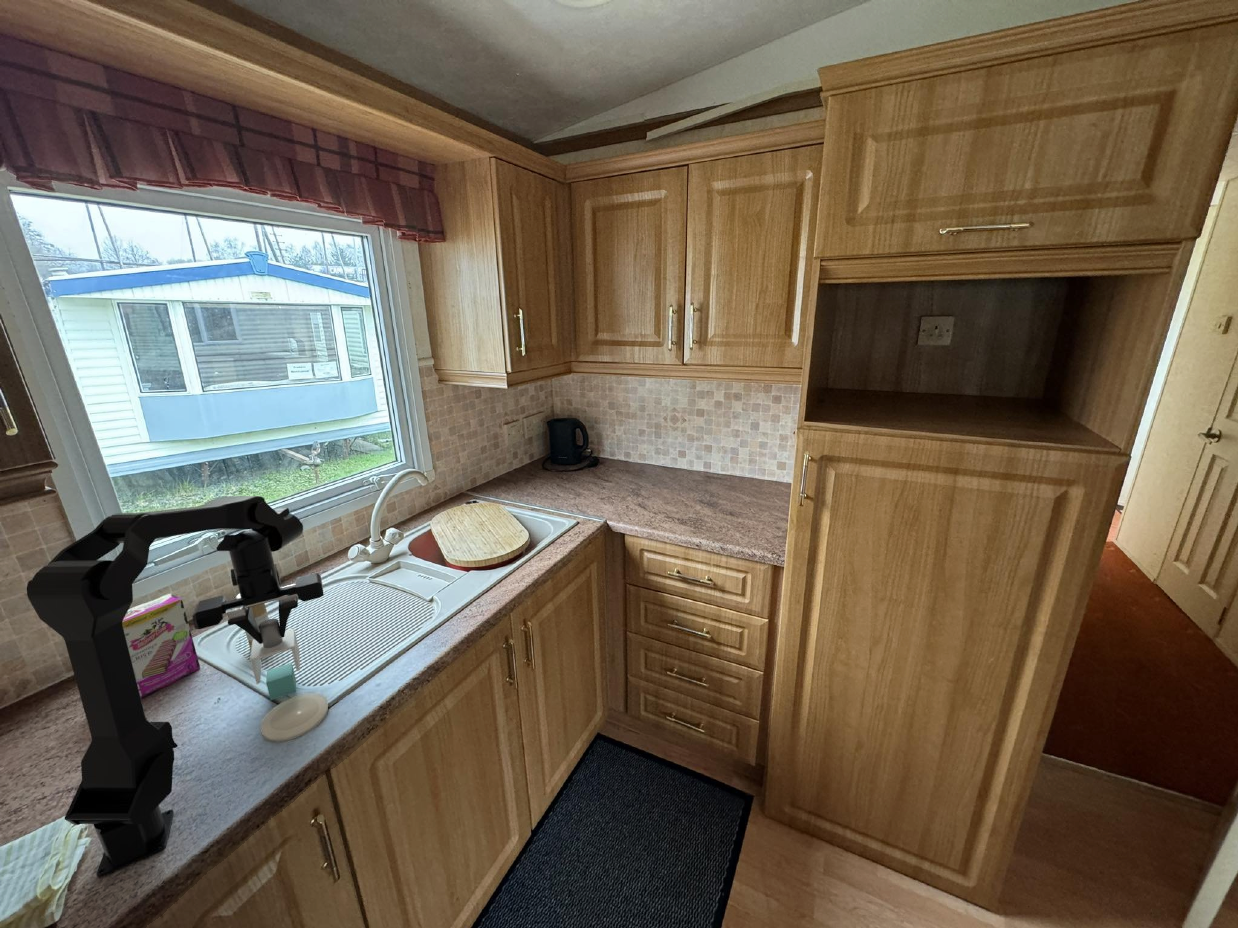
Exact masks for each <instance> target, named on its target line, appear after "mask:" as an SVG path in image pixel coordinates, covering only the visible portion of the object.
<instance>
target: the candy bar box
mask: <svg viewBox="0 0 1238 928" xmlns="http://www.w3.org/2000/svg"><path fill="white" fill-rule="evenodd" d="M122 624H123V629H124V633H125V637H126V641H127V645H128V649H129V653H130V657H131V661H132V665H133V669H134V673H135V677H136V681H137V685H138V689H139V693H140V697H141V699H143V698H145V697H147V696H149V695H151V694H153V693H155V692H157V691H158V690H160V689H161V690H162V689H163V688H165V687H167V686H169V685H171V684H173V683H175V682H176V681H179V680H180V679H182V678H185V677H186V676H188V675H190V674H192V673H194V672H196V671H198V670H200V669H201V665H200V661H199V658H198V655H197V650H196V647H195V643H194V640H193V639H194V638H193V635H192V632H191V628H190V625H189V621H188V616H187V614H186V608H185V605H184V603H183V598H181V597H179V596H176V595H175V594H172V593H167V594H164V595H163V596H162V595H161V596H159V597H157V598H154V599H152V600H149V601H147V602H144V603H141V604H139V605H136V606H134V607H130V608H129V610H128V611H127V613H126V615H125V617H124V619H123V621H122Z"/></svg>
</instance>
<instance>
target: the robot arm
mask: <svg viewBox="0 0 1238 928" xmlns="http://www.w3.org/2000/svg"><path fill="white" fill-rule="evenodd" d="M210 530H211V531H212V530H219V531H221V530H223V531H225V530H226V531H228V530H229V531H230V530H231V531H232V530H236V531H237V530H238V531H239V530H241V531H240V532H238V533H236V534H225V535H224V536H223V538H222V539H221V541H220V542H219V543H218V544H217V546H216V548H215V550H216V551H217V552H228V553H229V556H230V561H231V565H232V568H230V578H231V584H232V586H233V587H236V586H237V587H238V591H239V593H240V596H241V598H239V599H236V598H235V599H230V600H227V598H226V596H225V595H219V596H214V597H211V598H207V599H203V600H199V601H198V603H196V605H195V607H194V611H193V613H192V622H193V623H192V624H193V626H194V629H195V630H202V629H207V628H210V627H214V626H218V625H219V624H220V623H221V622H222V620H223V619H224V614H226V617H227V624H228V626H234V625H235V626H236V627H239V628H240V629H242V630H243V631H246V632H247V633H248V634H250V635H251V636H252V637H253V638H254V639H255V640H256V641H257V642H258V643H259V644H262V639H261V635H260V631H259V627H258V625H257V622H256V620H255V617H254V615H253V611H252V606H256V605H260V604H263V603H265V604H267V603H270V602H275V601H278V622H279V626H280V634H281V637H282V638H283V637H284V635H285V631H286V629H287V624H288V620H289V617H290V615H291V612H292V610H293V609H296V608H297V607H298V606H299V600H300V601H302V602H304V603H305V602H308V601H312V600H316V599H320V598H322V597H323V596H325V595H324V586H323V585H324V584H323V580H322V576H321V574H319V573H317V572H313V573H310V574H307V575H306V574H305V575H302V576H299V577H298V576H297V577H296V579H295V583H296V584H295V583H293V584H289V585H285V586H281V585H282V583H281V577H280V572H279V571H278V569H277V568H278V567H277V564H275V561H274V558H273V553H275V552H277V551H279V550H281V549H282V548H284V547H286V546H287V545H289V544H290V543H292V542H294V541H295V540H296V539H298V538H299V537H300V536H301V535H303V532H304V525H303V522H301V520H300V519H299V518H298V517H297V516H295V514H292V513H290V509H289V508H288V507H278V508H276V509H273V507H271V505H269V504H267V502H266V500H265V498H264V497H263V496H262V495H261V496H259V495H256V496H255V495H247V496H246V495H245V496H244V495H243V496H242V495H241V496H238V495H237V496H234V495H233V496H231V495H230V496H227V495H226V496H221V497H218V498H214V499H210V500H208V501H206V502H205V503H204V504H201V505H198V506H190V507H180V508H173V509H172V508H171V509H161V510H154V511H152V510H151V511H144V512H143V511H142V512H121V513H120V512H119V513H115V514H112V515H109V516H107V517H105V518H104V519H102V521H101V522H100V523H99V524H98V525H97V526H96V527H95V528H94V529H93V530H92V531H91V532H89V533H87V534H86V535H84V536H82V537H81V538H78V539H77V540H75V541H73V543H71V544H69V545H67V546H66V547H64V548H63V549H62V550H60V551H59V552H58V553H57V554H56V555H55V556H54V558H52V559H51V560H50V561H49V562H48V564H46V565H44V566H43V567H42V568H40V569H39V570H38V571H36V573H35V575H34V576H33V577H32V579H30V580H28V581H27V586H26V596H27V598H28V599H27V600H28V601H29V602H30V604H31V606H32V608H33V609H34V611H35V612H36V615H37V617H38V618H39V619H40V620H41V622H43V623H44V624H45V625H47V626H48V627H49V628H51V629H52V630H53V631H55V632H56V633H57V634H58V635H60V636H61V637H62V638H63V640H64V643H65V645H66V646H65V647H66V650H67V653H68V657H69V661H70V664H71V669H72V671H73V675H74V678H75V683H76V687H77V690H78V693H79V698H80V701H81V704H82V707H83V711H84V715H85V718H86V722H87V725H88V729H89V732H90V737H91V741H90V743H89V744H88V747H87V748H86V749H85V752H84V754H83V756H82V757H81V762H80V767H81V781H80V784H79V785H78V787H77V790H76V792H75V793H74V796H73V798H72V801H71V803H70V805H69V808H68V810H67V811H66V813H65V816H64V821H66V822H68V823H70V824H72V825H75V826H79V825H93V829H95V832H96V835H97V837H98V840H99V842H100V844H101V845H100V846H102V847H101V848H102V849H103V851H104V852H103V855H102V857H101V860H100V863H99V865H98V867H97V870H96V877H97V878H102V877H105V876H107V875H109V874H111V873H114V872H115V871H116V872H117V871H118V870H120V869H123V868H125V867H127V866H130V865H132V864H135V863H137V862H140V861H143V860H144V859H146V858H148V857H150V856H153V855H155V854H157V853H160V852H162V851H163V850H165V848H166V846H167V844H168V843H167V842H168V839H169V834H170V830H171V825H172V821H173V818H174V815H175V812H174V810H173V809H168V810H166V811H163V812H162V811H161V808H160V804H161V803H162V802H163V801H164V800H165V799H166V798H168V797H169V795H170V794H171V793H172V792H173V791H172V789H173V775H174V774H173V772H174V771H173V770H174V763H175V751H174V749H176V748H178V744H177V742H176V741H175V739H174V738H173V737H174V736H173V726H172V724H171V723H170V722H169V721H149V720H148V719H147V717H146V713H145V711H144V710H145V709H144V706H143V701H142V698H141V697H140V693H139V689H138V685H137V681H136V677H135V673H134V669H133V665H132V661H131V657H130V653H129V649H128V645H127V641H126V637H125V633H124V629H123V624H122V621H123V619H124V617H125V615H126V613H127V611H128V610H129V609H130V608H131V606H132V603H133V601H134V594H133V593H134V592H133V590H134V589H133V583H134V582H135V581H136V580H137V579H138V577H139V576H140V575H141V573H142V572H143V571H144V570H145V569H146V567H147V566H148V561H149V553H150V548H151V545H152V544H153V543H154V542H155V541H156V540H159V539H163V538H170V537H175V536H177V537H178V536H181V535H187V534H193V533H200V532H206V531H210ZM120 544H122V550H121V551H120V552H119V553H118V555H117V556H116V557H115V558H114V559H113V560H108V559H105V560H104V559H102V560H100V559H101V558H102V557H104V556H106V555H107V554H109V553H110V552H112V551H113V550H116V549H117V547H118V546H119V545H120ZM272 552H273V553H272ZM280 586H281V587H280ZM246 632H245V633H246Z"/></svg>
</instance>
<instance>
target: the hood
mask: <svg viewBox="0 0 1238 928" xmlns="http://www.w3.org/2000/svg"><path fill="white" fill-rule="evenodd" d="M258 627H259V631H260V635H261V639H262V644H259V643H258V642H257V641H256V640H253V641H252V649H251V651H250V658H249V660H250V663H251V667H252V671H253V675H254V678H255V683H256V685H258V684H261V679H262V678H261V677H262V665H263V662H262V659H264V658H268V657H270V656H273V655H277V654H280V653H284V652H287V651H290V650H291V653H292V657H293V661H294V666H295V670H296V672H298V671H300V670H301V667H300V666H301V663H300V662H301V661H300V660H301V659H300V656H301V655H300V649H299V644H298V639H297V634H296V631H295V628H290V629H287V630H285V635H284V637H283V638H282V637H281V634H280V624H279V618H269V620H266V621H263V622H262V623H260V624H259V626H258Z"/></svg>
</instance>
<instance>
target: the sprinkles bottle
mask: <svg viewBox="0 0 1238 928" xmlns="http://www.w3.org/2000/svg"><path fill="white" fill-rule="evenodd" d="M239 598H241V596H240V592H239V593H238V594H237V595H236V597H235V599H239ZM252 611H253V615H254V617H255V620H256V622H257V625H258V626H259V624H260V623H262V622H263V621H266V620H269V619H270V617H269V615H268V610H267V607H266V603H263V604H260V605H256V606H252ZM244 631H245V630H244ZM245 634H246V635H245V636H246V639H247V642H248V645H249V651H250V652H251V649H252V641H253V640H255V639H254V638H253V637H252V636H251V635H250V634H248V633H247V632H246V631H245Z"/></svg>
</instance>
